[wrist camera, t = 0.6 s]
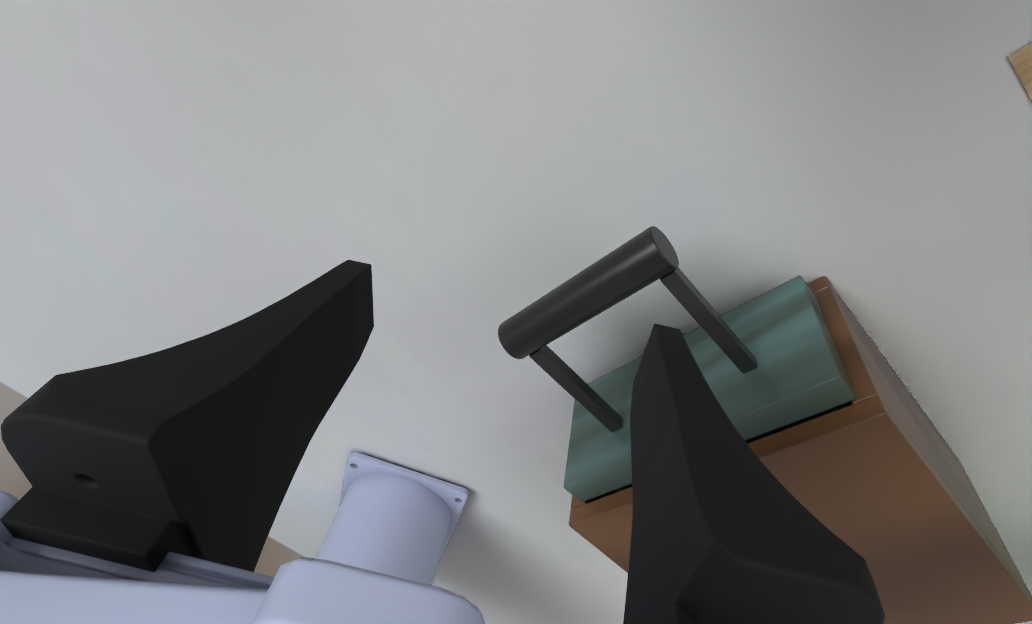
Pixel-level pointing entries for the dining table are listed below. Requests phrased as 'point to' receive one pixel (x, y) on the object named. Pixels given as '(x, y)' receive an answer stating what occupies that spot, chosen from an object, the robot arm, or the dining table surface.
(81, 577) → the robot arm
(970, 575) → the cabinet
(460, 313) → the dining table surface
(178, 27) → the dining table surface
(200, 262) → the dining table surface
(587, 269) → the green drawer
